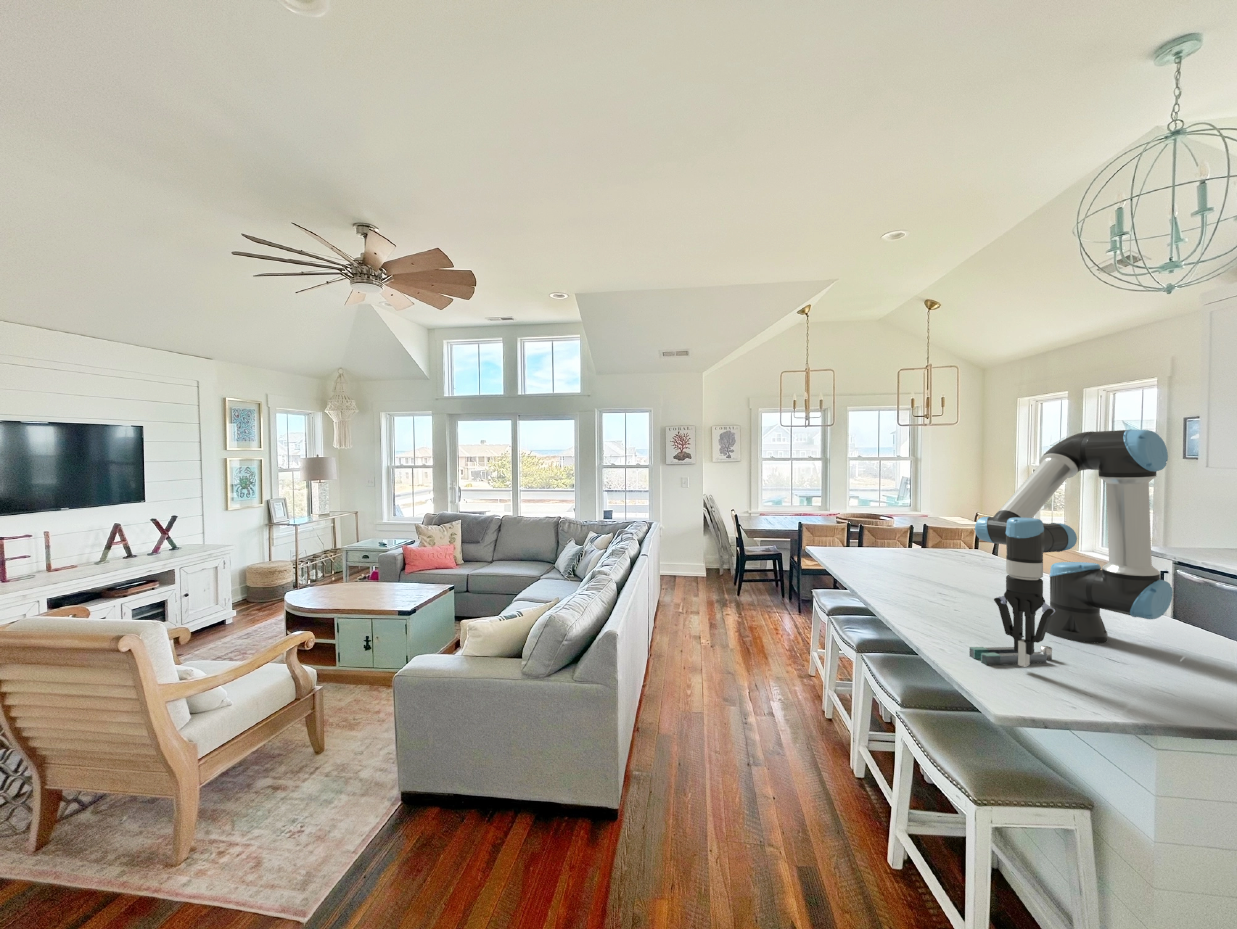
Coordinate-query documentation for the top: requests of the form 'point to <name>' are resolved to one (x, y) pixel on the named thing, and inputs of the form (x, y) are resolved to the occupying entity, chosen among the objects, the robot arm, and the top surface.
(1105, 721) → the top surface
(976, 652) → the arm
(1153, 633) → the top surface
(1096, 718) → the top surface
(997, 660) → the tongs free arm
